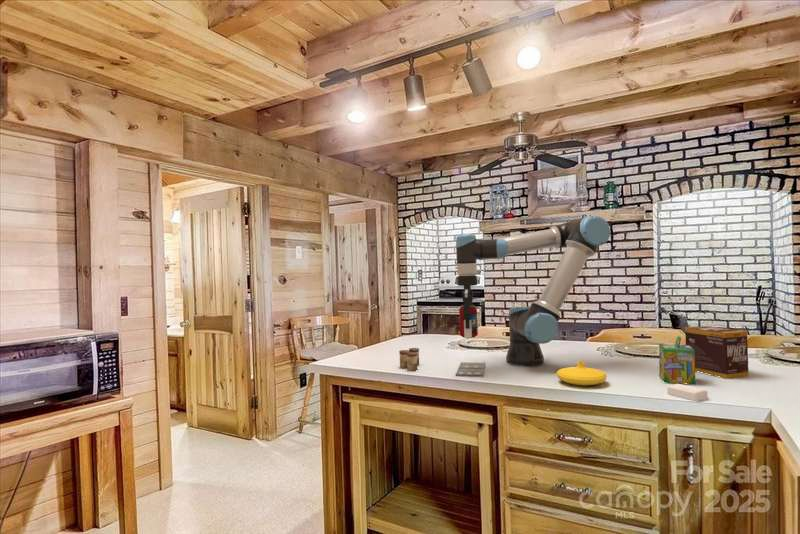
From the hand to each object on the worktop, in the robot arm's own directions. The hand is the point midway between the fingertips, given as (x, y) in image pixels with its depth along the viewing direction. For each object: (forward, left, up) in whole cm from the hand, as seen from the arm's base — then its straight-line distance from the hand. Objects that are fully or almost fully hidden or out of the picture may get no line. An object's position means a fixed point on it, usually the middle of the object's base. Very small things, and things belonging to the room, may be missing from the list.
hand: (468, 335), depth 167 cm
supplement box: (-86, -9, -15) cm, 88 cm away
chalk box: (-69, +4, -15) cm, 71 cm away
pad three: (0, 0, -14) cm, 14 cm away
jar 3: (+23, -3, -14) cm, 27 cm away
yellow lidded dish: (-38, +10, -15) cm, 42 cm away
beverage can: (0, 0, -1) cm, 1 cm away
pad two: (0, -11, -14) cm, 18 cm away
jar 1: (+27, -7, -14) cm, 31 cm away
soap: (-65, +23, -15) cm, 71 cm away
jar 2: (+24, -12, -14) cm, 30 cm away
